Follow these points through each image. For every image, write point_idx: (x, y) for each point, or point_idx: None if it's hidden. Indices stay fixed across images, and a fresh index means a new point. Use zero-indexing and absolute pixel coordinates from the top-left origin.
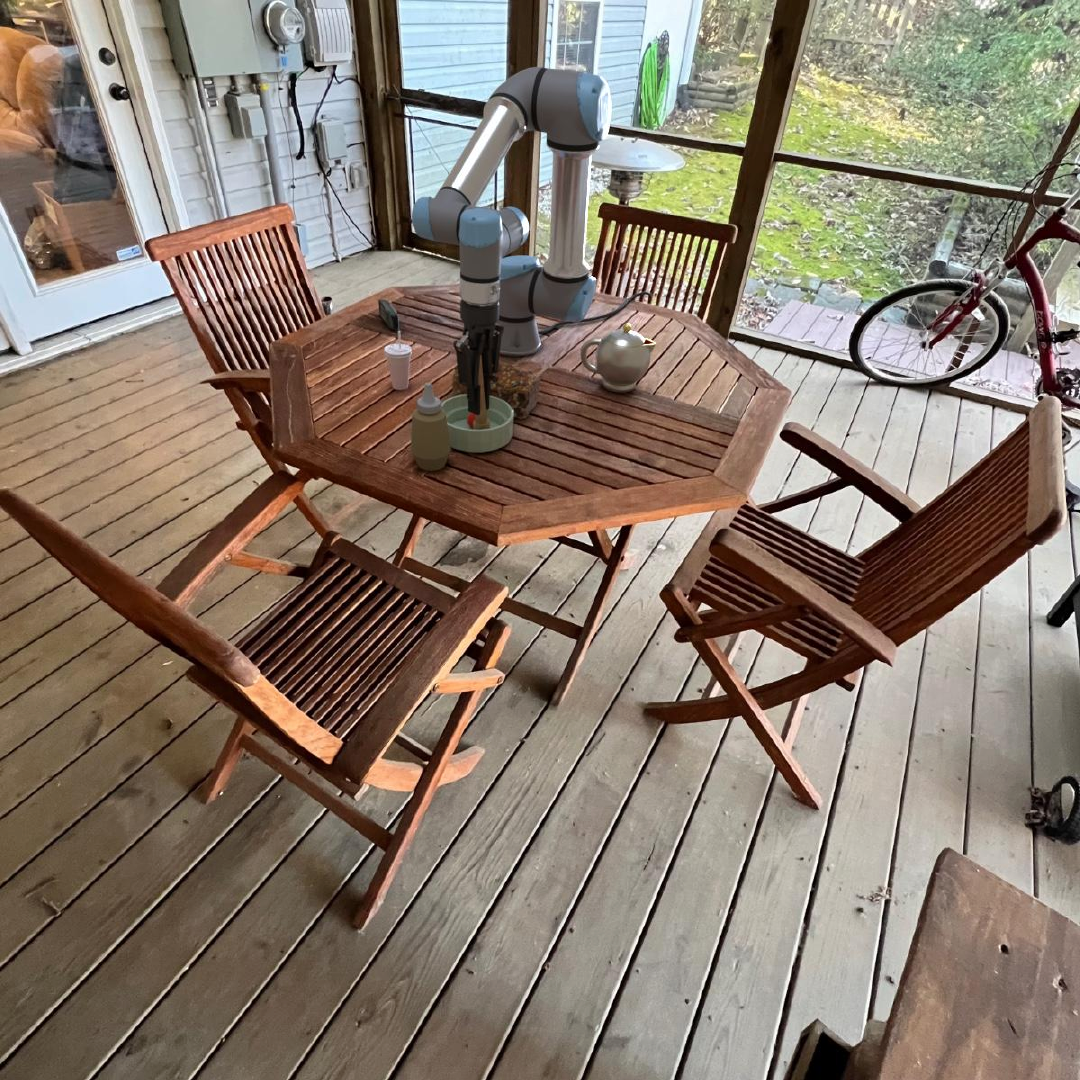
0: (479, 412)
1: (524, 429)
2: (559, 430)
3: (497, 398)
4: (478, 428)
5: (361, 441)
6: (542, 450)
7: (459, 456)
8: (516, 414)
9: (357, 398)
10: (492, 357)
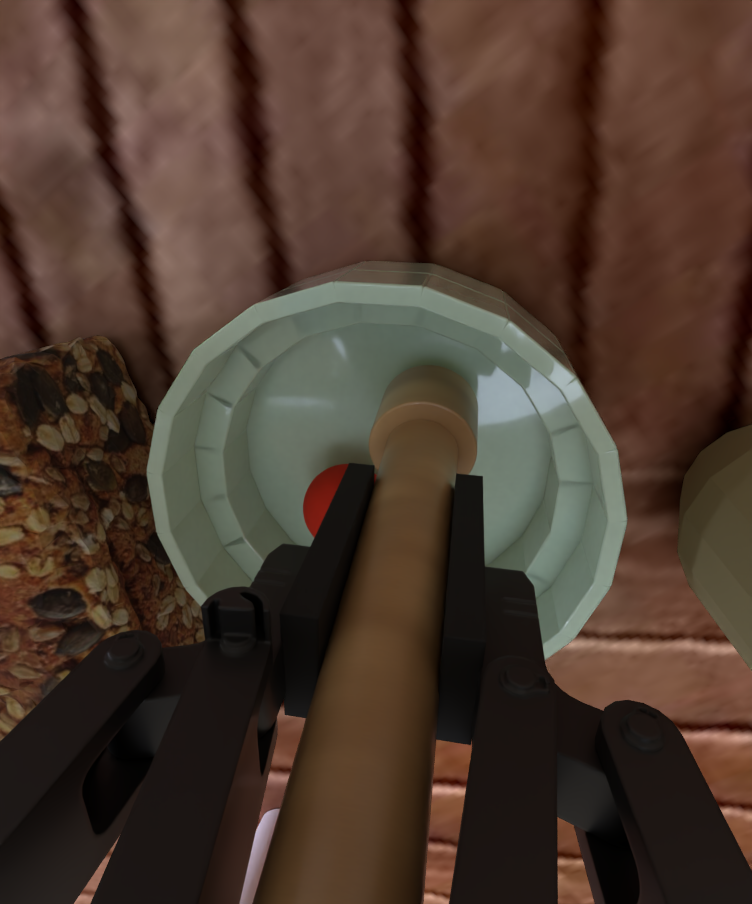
0: (464, 482)
1: (174, 286)
2: (30, 106)
3: (158, 505)
4: (476, 430)
5: (718, 777)
6: (274, 45)
7: (616, 413)
8: (121, 384)
9: (450, 887)
10: (39, 854)
